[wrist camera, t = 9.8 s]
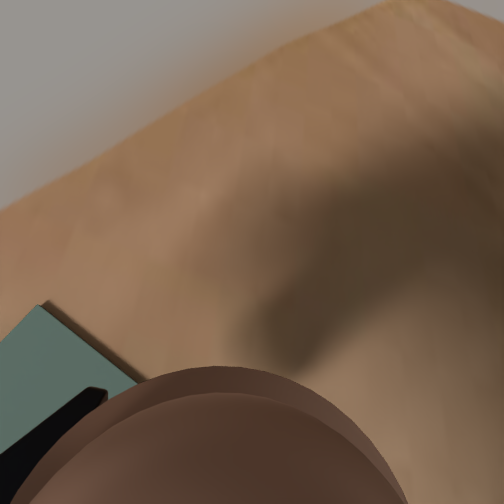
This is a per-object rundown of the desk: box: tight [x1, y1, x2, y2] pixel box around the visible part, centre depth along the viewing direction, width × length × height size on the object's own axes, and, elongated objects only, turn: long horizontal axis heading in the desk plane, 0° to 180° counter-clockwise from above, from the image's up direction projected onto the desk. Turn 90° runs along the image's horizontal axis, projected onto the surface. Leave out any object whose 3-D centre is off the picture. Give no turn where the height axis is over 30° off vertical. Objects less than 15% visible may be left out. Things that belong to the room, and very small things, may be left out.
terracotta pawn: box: [10, 366, 408, 504], centre depth 8 cm, size 5×5×13 cm
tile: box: [0, 304, 138, 454], centre depth 19 cm, size 8×8×1 cm
